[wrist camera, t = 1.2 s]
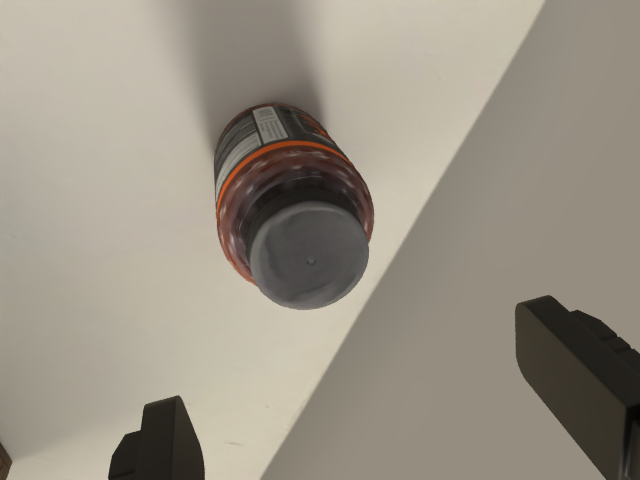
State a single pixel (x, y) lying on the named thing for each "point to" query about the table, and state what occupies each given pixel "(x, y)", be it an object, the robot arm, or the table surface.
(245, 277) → the supplement bottle
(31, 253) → the table surface
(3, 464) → the box
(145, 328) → the table surface
